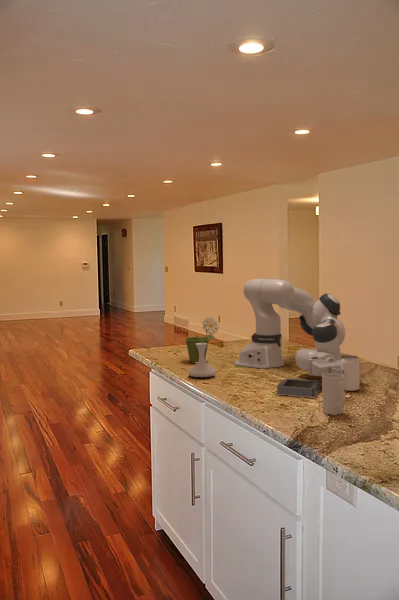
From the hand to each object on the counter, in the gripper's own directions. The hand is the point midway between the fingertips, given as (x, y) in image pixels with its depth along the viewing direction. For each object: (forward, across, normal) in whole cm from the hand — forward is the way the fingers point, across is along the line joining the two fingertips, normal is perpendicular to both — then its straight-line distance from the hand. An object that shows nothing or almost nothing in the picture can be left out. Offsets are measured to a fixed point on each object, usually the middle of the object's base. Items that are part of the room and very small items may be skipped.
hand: (350, 371), depth 199 cm
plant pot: (-75, +25, -8) cm, 79 cm away
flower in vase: (-48, +36, -7) cm, 60 cm away
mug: (+19, +25, -7) cm, 32 cm away
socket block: (-8, +18, -7) cm, 21 cm away
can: (0, 0, -7) cm, 7 cm away
